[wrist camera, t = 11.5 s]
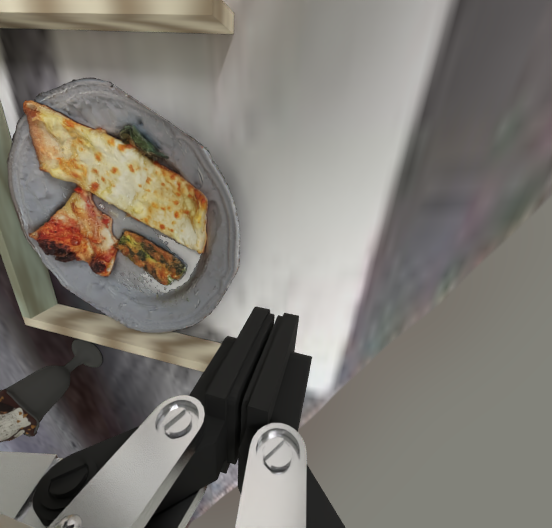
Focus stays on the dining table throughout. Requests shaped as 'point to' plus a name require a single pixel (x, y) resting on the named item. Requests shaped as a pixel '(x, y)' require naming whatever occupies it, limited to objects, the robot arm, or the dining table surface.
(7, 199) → the bay
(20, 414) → the sundae
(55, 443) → the dining table surface
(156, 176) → the food plate
